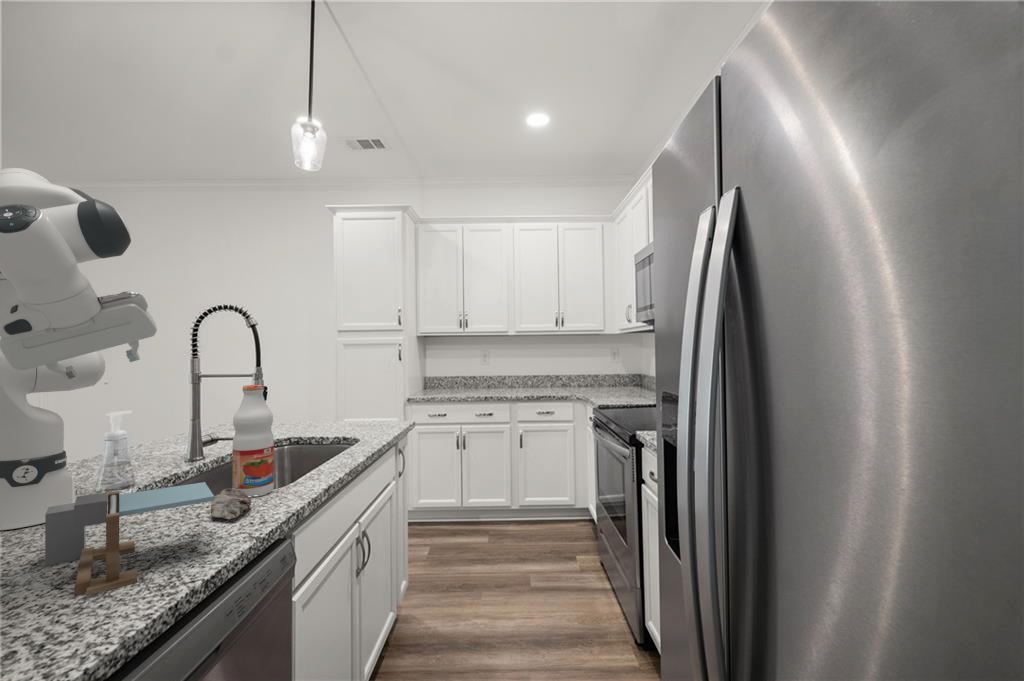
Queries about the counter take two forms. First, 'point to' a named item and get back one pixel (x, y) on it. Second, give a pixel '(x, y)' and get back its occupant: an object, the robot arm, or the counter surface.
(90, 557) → the post frame
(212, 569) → the counter surface
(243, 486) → the fruit juice
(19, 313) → the robot arm
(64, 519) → the basalt block
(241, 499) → the mineral rock
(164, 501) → the trapdoor
